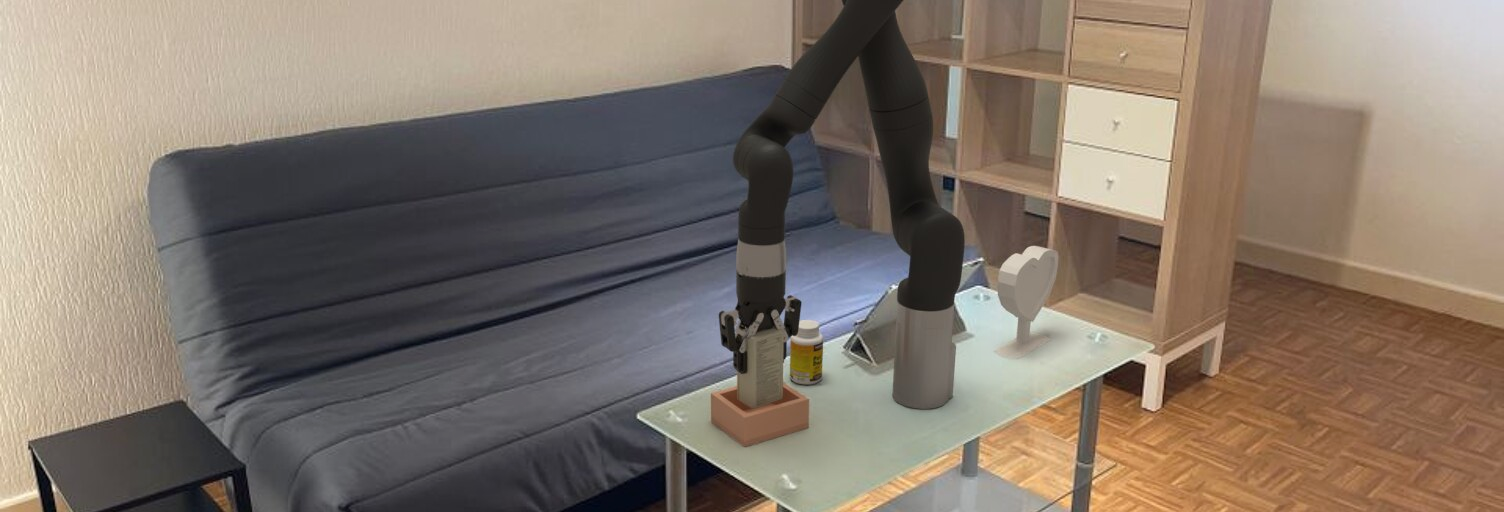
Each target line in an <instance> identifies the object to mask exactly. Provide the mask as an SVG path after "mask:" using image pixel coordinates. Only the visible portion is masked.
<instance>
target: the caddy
mask: <svg viewBox="0 0 1504 512" xmlns="http://www.w3.org/2000/svg"><path fill="white" fill-rule="evenodd" d="M710 422H711V423H712V424H713V425H715V426H716V427H717V428H719V429H720V430H722V431H723V432H725V433H726V434H727V435H728V436H729V437H731V438H732V439H733V440H734V441H736V442H737V443H739V444H740V445H741V446H743V448H746V447H749V446H753V445H757V444H758V443H763V442H765V441H766V442H767V441H769V440H772V439H776V438H778V437H783V436H786V435H788V434H789V435H790V434H791V433H795V432H799V431H802V430H806V429H809V427H810V426H809V424H810V423H809V422H810V398H809V397H806V396H805V395H804V394H802V393H801V392H799V391H798V390H796V389H794V388H793V387H791V386H790V385H789V384H787V383H785V382H784V381H783V398H782V399H780V400H777V401H775V402H772V403H769V404H766V405H763V406H760V407H757V408H754V409H752V408H750V407H749V406H747V405H745V404H744V403H742V402H741V401H739V400H737V385H736V386H733V387H728V388H725V389H722V390H718V391H713V392H710Z"/></svg>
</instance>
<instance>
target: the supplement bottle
mask: <svg viewBox="0 0 1504 512" xmlns="http://www.w3.org/2000/svg"><path fill="white" fill-rule="evenodd" d="M789 345H790V348H789V350H790V352H789V355H790V356H789V378H790V379H791V381H792V382H794V383H796V384H799V385H815V384H817V383H819V382H821V380H822V377H823V356H824V335H823V334H822V333H821V332H820V325H819V322H817V321H815V320H812V319H804V320H803V319H802V320H799V329H798V334H797V335H796V336H791V337H790V343H789Z"/></svg>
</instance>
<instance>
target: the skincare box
mask: <svg viewBox="0 0 1504 512" xmlns="http://www.w3.org/2000/svg"><path fill="white" fill-rule="evenodd" d="M745 331H748V328H746V327H745ZM742 338H743V337H742V335H741V340H742ZM783 341H784V329H782V330H777V329H776V328H775V327H773V326H772V328H771V329H763V330H761V331H759V332H756V333H755V336H754V337H751V338H750V339H748V346H747V349H746V352H747V373H745V374H741V373H739V372H738V371H737V370H736V386H737V400H739V401H741V402H742V403H744V404H745V405H747V406H749V407H750V408H752V409H754V408H757V407H760V406H763V405H766V404H769V403H772V402H775V401H777V400H780V399H782V398H783V382H784V363H783Z"/></svg>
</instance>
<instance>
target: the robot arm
mask: <svg viewBox="0 0 1504 512" xmlns="http://www.w3.org/2000/svg"><path fill="white" fill-rule="evenodd" d="M841 2H842V5H843V7H842V9H841V11H840V12H839V14H838V15H837V17H836V18H835V19H834V21H833V22H832V24H831V25H830V26H829V28H828V29H827V30H826V31H825V32H824V33H823V34H822V35H821V37H819V38H818V40H816V42H814V44H813V45H811V46H810V47H809V48H808V49H807V50H806V51H804V53H803V54H802V55H801V56H800V57H799V59H798V60H797V61H796V62H795V64H794V65H793V66H792V67H791V69H790V70H789V72H788V73H787V75H786V76H785V77H784V80H783V82H781V84H780V86H779V88H778V90H777V91H776V93H775V95H774V96H773V98H772V100H771V102H770V104H769V105H768V106H767V107H766V108H765V109H764V110H763V111H762V112H761V113H760V114H759V115H758V116H757V117H756V118H755V119H754V120H753V122H752V123H750V125H749V126H748V127H747V128H746V129H745V130H744V132H743V133H742V134H741V136H740V138H739V139H738V140H737V143H736V145H735V147H734V151H733V155H732V162H733V163H732V164H733V167H734V169H735V171H736V172H737V173H738V175H740V176H741V177H742V178H744V179H745V180H746V181H748V188H747V189H748V192H747V199H745V200H744V201H743V202H742V203H740V206H739V209H738V226H737V228H738V233H737V234H738V235H737V236H738V237H737V238H738V239H737V245H736V247H737V248H736V255H735V257H736V258H735V259H736V261H735V263H736V273H735V274H736V275H735V277H736V280H735V281H736V283H735V284H736V286H735V287H736V288H735V289H736V290H735V291H736V292H735V293H736V297H737V304H736V306H735V308H734V309H733V310H730V311H727V312H726V311H724V310H721V311H719V313H718V323H719V332H720V343H721V346H722V347H723V348H725V349H727V350H729V351H730V352H731V353H732V354H733V355H732V360H733V364H732V365H733V369H735V370H736V372H737V371H738V372H739V373H741V374H745V373H747V352H746V349H747V346H748V339H750V338H751V337H754V336H755V333H756V332H759V331H761V330H763V329H771V328H772V326H773V327H775V328H776V329H777V330H782V329H784V341H783V364H784V363H785V360H786V359H787V349H788V348H787V346H788V341H789V338H791V336H796V335H797V334H798V329H799V321H801V320H800V319H801V311H802V301H801V300H800V299H798V298H797V297H795V296H793V295H788V296H787V297H786V298H785V295H786V285H787V283H786V279H787V278H786V275H787V274H786V273H787V265H786V264H787V249H786V239H785V238H786V209H787V208H788V207H787V206H788V203H789V199H790V194H791V191H792V186H793V180H794V166H793V165H794V164H793V159H792V156H791V154H790V152H789V151H788V149H787V148H786V146H787V145H788V144H789V143H790V141H792V139H793V138H794V137H795V136H797V135H798V136H799V135H805V134H806V133H808V132H809V131H810V129H811V128H812V126H813V125H814V124H815V122H816V120H817V119H818V117H819V116H820V114H821V112H822V111H823V109H824V108H825V106H826V104H827V103H828V101H829V99H830V97H831V95H832V94H833V93H834V91H835V89H836V87H837V86H838V85H839V83H840V82H841V80H842V78H844V75H845V74H846V72H848V71H849V68H850V67H851V66H852V64H853V63H854V61H855V60H856V59H857V58H858V62H859V67H860V72H861V77H862V81H863V86H864V91H865V96H866V100H867V107H868V111H869V116H870V120H871V124H872V128H873V133H874V136H875V139H876V144H877V148H878V152H879V156H880V161H881V164H882V169H883V172H884V175H885V179H886V184H887V185H886V187H887V194H888V200H889V201H888V202H889V212H890V221H891V222H890V223H891V229H892V235H893V238H894V240H895V242H896V244H897V246H898V247H899V248H900V249H901V250H902V251H903V252H904V253H905V254H907V255H908V256H909V266H908V267H909V268H908V275H907V276H908V277H906V278H904V279H902V280H900V282H899V283H898V285H897V292H896V294H897V295H896V311H895V312H896V313H895V314H896V316H895V334H894V335H895V336H894V355H893V356H894V358H893V376H892V377H893V378H892V381H893V382H892V398H893V400H895V402H897V403H898V404H900V405H902V406H904V407H908V408H913V409H920V410H921V409H923V410H926V409H929V410H930V409H934V408H939V407H941V406H943V405H945V404H946V403H947V402H948V400H949V399H952V398H953V397H954V385H955V371H956V370H955V368H956V354H957V346H956V343H954V342H953V331H954V330H953V328H954V313H955V311H954V310H955V297H956V294H957V293H958V290H959V288H960V286H961V281H962V275H963V274H962V273H963V267H964V266H963V264H964V255H965V247H966V246H965V245H966V244H965V243H966V242H965V241H966V240H965V230H964V226H963V224H962V222H961V221H960V219H959V218H958V217H957V216H955V215H954V214H953V213H951V212H949V211H948V210H946V209H945V208H943V207H941V205H940V203H939V202H938V199H937V197H936V196H937V195H936V193H935V190H934V185H933V181H932V179H931V174H930V164H929V163H930V162H929V161H930V153H931V148H932V145H933V144H932V142H933V139H934V137H933V136H934V119H933V118H934V117H933V113H932V107H931V102H930V98H929V93H928V87H927V84H926V82H925V79H924V76H923V74H922V72H921V69H920V68H919V65H918V63H917V62H916V60H915V57H914V56H913V54H912V52H911V50H910V49H909V46H908V45H907V43H906V41H905V39H904V37H903V34H902V32H901V30H900V29H901V28H900V26H899V23H898V19H897V13H896V11H897V9H898V8H899V7H900V6H901V4H902V3H903V2H904V0H841ZM783 312H784V319H783V320H782V319H781V315H782V313H783ZM737 319H739V320H738V322H737ZM735 326H736V328H735ZM745 327H746V328H748V331H745ZM741 335H742V337H743V338H742V340H741Z"/></svg>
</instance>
